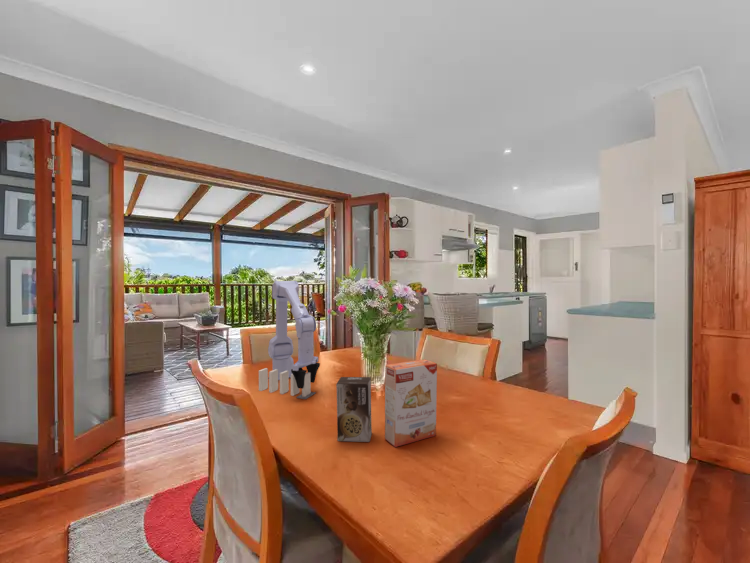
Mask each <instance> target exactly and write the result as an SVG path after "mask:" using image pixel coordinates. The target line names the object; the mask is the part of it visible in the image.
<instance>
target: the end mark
mask: <svg viewBox="0 0 750 563" xmlns="http://www.w3.org/2000/svg"><path fill="white" fill-rule="evenodd" d="M316 393H317V392H315V391H314V392H313V391H311V393H310V394H309V395H307V396H305V397H303V396H302V393H301V394H299V395H298V396H296V399H302V400H307V399H308V398H310V397H312V396H313V395H315V394H316Z"/></svg>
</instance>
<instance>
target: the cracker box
mask: <svg viewBox="0 0 750 563" xmlns="http://www.w3.org/2000/svg"><path fill="white" fill-rule="evenodd" d="M384 369H385V370H384V371H385V374H384V378H385V381H384V384H385V385H384V386H385V388H384V439H385V440H386V441H387V442H388V443H390V445H392V446H393V447H394V448H397V447H401V446H404V445H407V444H411V443H415V442H419V441H422V440H424V439H428V438H433V437H436V435H437V388H438V387H437V386H438V384H437V383H438V381H437V380H438V379H437V378H438V364H437V363H436V362H434V361H431V360H428V359H425V358H424V359H417V360H411V361H403V362H396V363H390V364H385V368H384Z"/></svg>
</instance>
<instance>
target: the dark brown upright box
mask: <svg viewBox="0 0 750 563" xmlns="http://www.w3.org/2000/svg"><path fill="white" fill-rule="evenodd" d="M371 378H372V377H370V376H340V377H339V379H338V381H337V382H336V384H335V385H336V388H335V389H336V418H337V419H336V422H337V423H336V425H337V426H336V428H337V430H336V432H337V436H336V438H337V440H336V441H337V442H356V443H357V442H361V443H363V442H364V443H369V442H371V437H372V434H373V432H372V431H373V430H372V429H373V428H372V427H373V426H372V388H371V387H372V382H371V381H372V380H371Z"/></svg>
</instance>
